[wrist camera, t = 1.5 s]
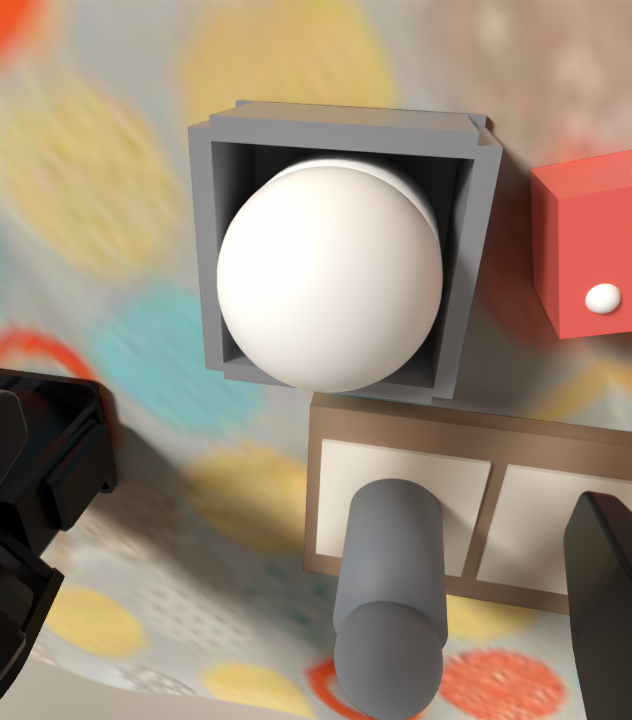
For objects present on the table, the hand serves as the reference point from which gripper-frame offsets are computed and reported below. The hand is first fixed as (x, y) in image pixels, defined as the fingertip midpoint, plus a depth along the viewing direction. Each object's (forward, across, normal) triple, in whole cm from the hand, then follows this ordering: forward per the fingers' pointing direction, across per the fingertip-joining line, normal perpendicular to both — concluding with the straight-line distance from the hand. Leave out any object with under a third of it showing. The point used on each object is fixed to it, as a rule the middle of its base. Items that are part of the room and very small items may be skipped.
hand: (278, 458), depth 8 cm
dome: (+10, 0, 0) cm, 10 cm away
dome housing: (+12, 0, 0) cm, 12 cm away
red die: (+12, -7, -1) cm, 14 cm away
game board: (+12, -10, +12) cm, 20 cm away
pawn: (+11, -3, +12) cm, 16 cm away
